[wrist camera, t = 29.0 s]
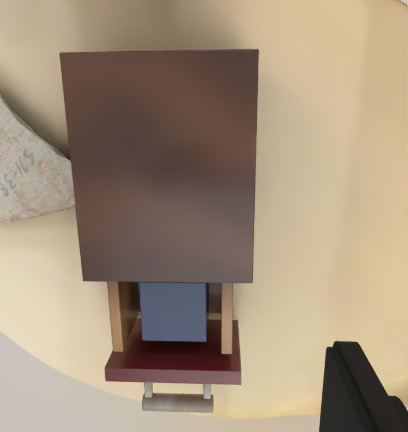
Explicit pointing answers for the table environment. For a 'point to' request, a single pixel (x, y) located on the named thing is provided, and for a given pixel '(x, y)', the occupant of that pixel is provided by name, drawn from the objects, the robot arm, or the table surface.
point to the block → (174, 311)
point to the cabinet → (163, 163)
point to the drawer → (173, 351)
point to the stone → (30, 171)
